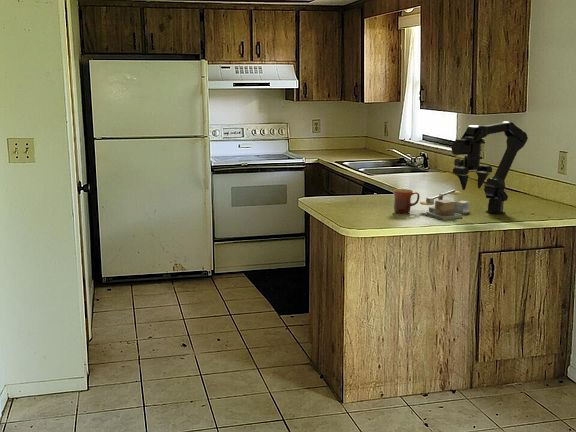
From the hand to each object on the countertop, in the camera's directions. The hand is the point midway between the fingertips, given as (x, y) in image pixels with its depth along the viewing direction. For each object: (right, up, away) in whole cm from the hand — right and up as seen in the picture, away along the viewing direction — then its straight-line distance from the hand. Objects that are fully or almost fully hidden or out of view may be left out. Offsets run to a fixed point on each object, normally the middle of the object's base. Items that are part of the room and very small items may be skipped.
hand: (471, 189), depth 312 cm
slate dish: (-12, -12, 0) cm, 17 cm away
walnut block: (-12, -11, -1) cm, 17 cm away
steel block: (-2, -10, +10) cm, 14 cm away
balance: (-11, -10, +12) cm, 19 cm away
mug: (-28, -11, +7) cm, 31 cm away
